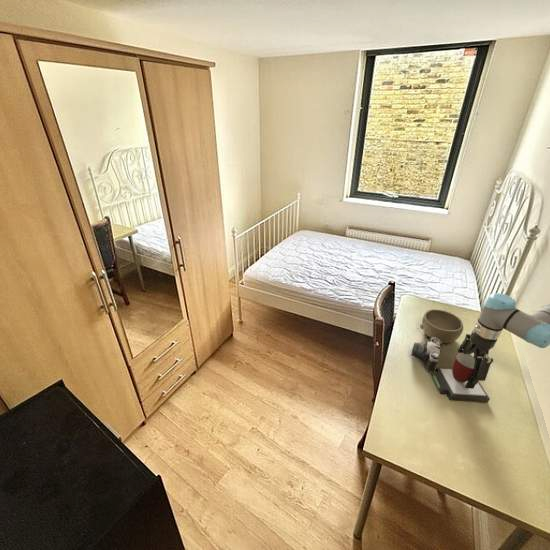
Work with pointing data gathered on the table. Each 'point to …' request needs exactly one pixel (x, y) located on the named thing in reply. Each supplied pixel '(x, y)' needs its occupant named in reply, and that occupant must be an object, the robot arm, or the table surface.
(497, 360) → the table surface
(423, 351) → the camera
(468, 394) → the scale
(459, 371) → the mug
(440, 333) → the bowl
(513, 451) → the table surface
